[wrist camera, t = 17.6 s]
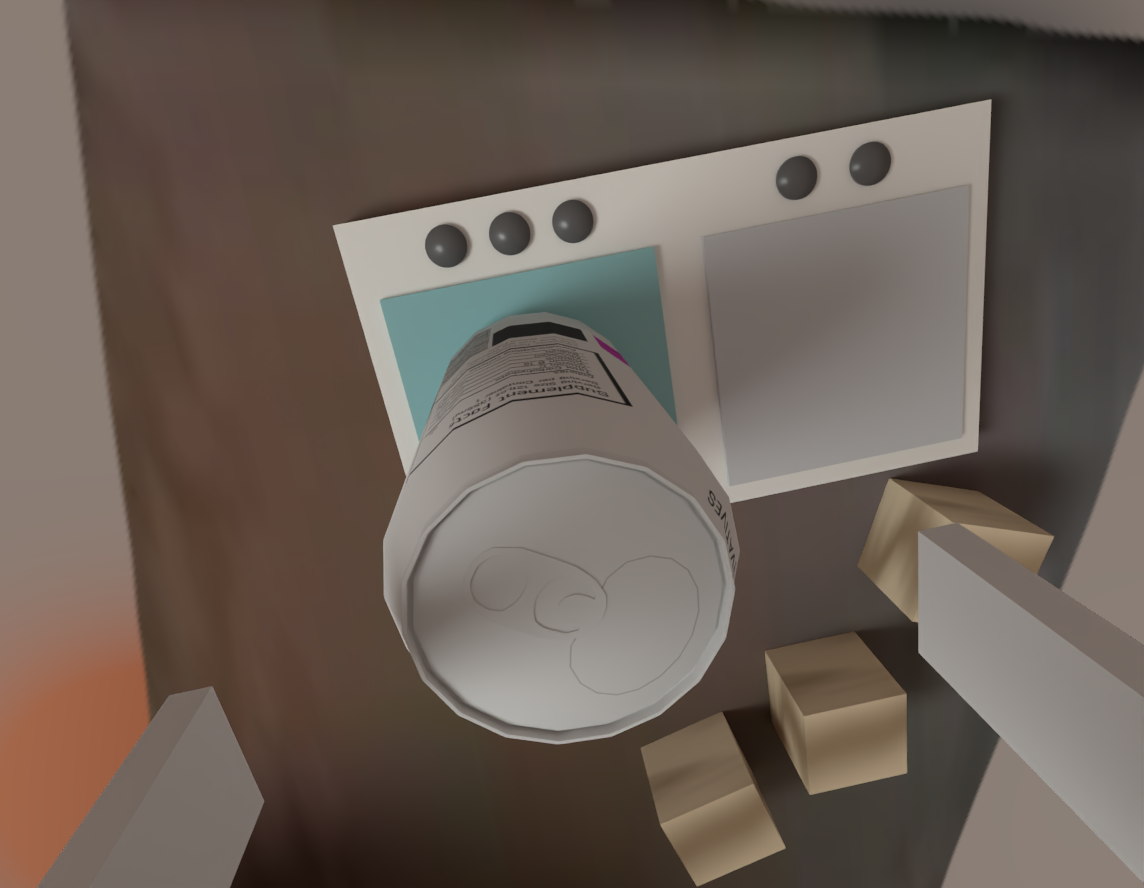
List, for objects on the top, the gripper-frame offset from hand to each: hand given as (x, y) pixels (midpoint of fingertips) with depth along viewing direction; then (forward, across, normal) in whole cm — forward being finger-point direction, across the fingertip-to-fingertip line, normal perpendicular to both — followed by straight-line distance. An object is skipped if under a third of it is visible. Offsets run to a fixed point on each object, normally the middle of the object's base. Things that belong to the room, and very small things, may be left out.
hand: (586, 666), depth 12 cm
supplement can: (+17, 0, 0) cm, 17 cm away
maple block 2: (+19, -12, +19) cm, 29 cm away
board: (+18, -7, -1) cm, 20 cm away
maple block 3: (+18, -18, +11) cm, 28 cm away
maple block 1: (+19, -5, +23) cm, 30 cm away
